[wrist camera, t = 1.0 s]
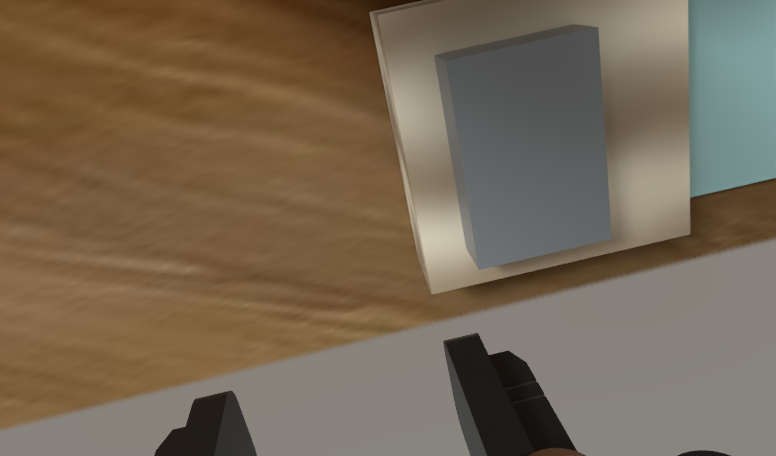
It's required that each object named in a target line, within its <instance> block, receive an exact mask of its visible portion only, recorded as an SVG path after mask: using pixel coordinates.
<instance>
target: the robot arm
mask: <svg viewBox="0 0 776 456" xmlns="http://www.w3.org/2000/svg"><path fill="white" fill-rule="evenodd" d="M444 350H445V355H446V360H447V365H448V370H449V375H450V381H451V385H452V390H453V396H454V401H455V406H456V410H457V414H458V418H459V422H460V425H461V429H462V432H463V435H464V438H465V441H466V443H467V447H468V450H469V452H470V455H471V456H585V455H584V454H581V453H579V452H577V450H576V449H575V447H574V445H573V443H572V442H571V440H570V438H569V436H568V435H567V433H566V431H565V429H564V428H563V426H562V424H561V422H560V421H559V419H558V417H557V415H556V414H555V412H554V410H553V408H552V407H551V405H550V403H549V401H548V400H547V398H546V397H545V396H544V393H543V391H542V389H541V387H540V386H539V384H538V383H537V382H536V379H535V377H534V375H533V373H532V372H531V370H530V368H529V366H528V365H527V363H526V362H525V361H523V360H522V359H520V358H519V357H517V356H516V355H514V354H513V353H511V352H510V351H505V352H501V353H497V354H492V355H488V353H487V351H486V349H485V347H484V345H483V343H482V341H481V339H480V336H479V335H478V333H475V334H471V335H466V336H462V337H458V338H454V339H450V340H445V341H444ZM154 456H257V455H256V451H255V447H254V445H253V442H252V439H251V436H250V433H249V431H248V428H247V426H246V422H245V420H244V417H243V414H242V412H241V409H240V406H239V403H238V401H237V398H236V396H235V394H234V393H233V392H232V391H228V392H224V393H219V394H215V395H211V396H206V397H202V398H198V399H195V400H194V402H193V404H192V407H191V411H190V414H189V418H188V421H187V425H186V427H183V428H179V429H174V430H172V431H171V433H170V434H169V435H168V436H167V438H166V439H165V440H164V441H163V443H162V444H161V445H160V446H159V448H158V449H157V450H156V452H155V455H154ZM678 456H730V455H727V454H724V453H719V452H714V451H690V452H686V453H683V454H680V455H678Z"/></svg>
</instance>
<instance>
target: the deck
mask: <svg viewBox="0 0 776 456" xmlns="http://www.w3.org/2000/svg"><path fill="white" fill-rule="evenodd" d="M369 14H370V19H371V24H372V29H373V34H374V39H375V44H376V49H377V54H378V59H379V64H380V69H381V74H382V79H383V84H384V89H385V94H386V99H387V104H388V109H389V114H390V119H391V124H392V129H393V134H394V139H395V144H396V149H397V154H398V159H399V164H400V169H401V174H402V179H403V184H404V189H405V194H406V199H407V204H408V209H409V214H410V219H411V224H412V229H413V234H414V239H415V244H416V249H417V254H418V259H419V262H420V265H421V268H422V270H423V273H424V275H425V278H426V281H427V283H428V286H429V288H430V291H431V293H432V295H433V294H437V293H441V292H445V291H450V290H454V289H458V288H463V287H467V286H471V285H475V284H480V283H484V282H488V281H493V280H497V279H501V278H505V277H510V276H514V275H518V274H523V273H527V272H531V271H535V270H540V269H544V268H548V267H553V266H557V265H561V264H565V263H570V262H574V261H578V260H583V259H587V258H591V257H595V256H600V255H604V254H608V253H613V252H617V251H621V250H625V249H630V248H634V247H638V246H643V245H647V244H651V243H655V242H660V241H664V240H668V239H673V238H677V237H681V236H685V235H690V147H689V42H688V0H422V1H417V2H413V3H408V4H404V5H399V6H394V7H390V8H385V9H381V10H376V11H372V12H369ZM571 24H577V25H585V26H593V27H598V30H599V46H600V62H601V77H602V93H603V109H604V125H605V140H606V156H607V172H608V187H609V203H610V219H611V235H612V239H610V240H605V241H601V242H597V243H593V244H588V245H584V246H580V247H575V248H571V249H567V250H562V251H558V252H554V253H550V254H545V255H541V256H537V257H532V258H528V259H524V260H519V261H515V262H511V263H507V264H502V265H498V266H494V267H489V268H485V269H481V270H479V269H478V268H477V266H476V264H475V263H474V261H473V259H472V258H471V256H470V254H469V252H468V251H467V249H466V245H465V239H464V233H463V227H462V221H461V215H460V209H459V203H458V196H457V190H456V184H455V178H454V172H453V166H452V160H451V154H450V148H449V142H448V136H447V130H446V124H445V118H444V112H443V106H442V100H441V94H440V88H439V81H438V75H437V69H436V63H435V57H434V55H436V54H440V53H445V52H449V51H454V50H458V49H463V48H467V47H472V46H476V45H481V44H485V43H490V42H494V41H499V40H504V39H508V38H513V37H517V36H522V35H526V34H531V33H535V32H540V31H544V30H549V29H553V28H558V27H562V26H567V25H571Z"/></svg>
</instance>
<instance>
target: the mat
mask: <svg viewBox="0 0 776 456" xmlns="http://www.w3.org/2000/svg"><path fill="white" fill-rule="evenodd" d="M688 42H689V147H690V198H691V197H695V196H700V195H704V194H708V193H713V192H717V191H721V190H726V189H730V188H734V187H739V186H743V185H747V184H752V183H756V182H760V181H764V180H769V179H773V178H776V0H688Z"/></svg>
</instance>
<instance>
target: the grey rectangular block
mask: <svg viewBox="0 0 776 456" xmlns="http://www.w3.org/2000/svg"><path fill="white" fill-rule="evenodd" d="M434 57H435V63H436V69H437V75H438V81H439V88H440V94H441V100H442V106H443V112H444V118H445V124H446V130H447V136H448V142H449V148H450V154H451V160H452V166H453V172H454V178H455V184H456V190H457V196H458V203H459V209H460V215H461V221H462V227H463V233H464V239H465V245H466V249H467V251H468V252H469V254H470V256H471V258H472V259H473V261H474V263H475V264H476V266H477V268H478V269H479V270H481V269H485V268H489V267H494V266H498V265H502V264H507V263H511V262H515V261H519V260H524V259H528V258H532V257H537V256H541V255H545V254H550V253H554V252H558V251H562V250H567V249H571V248H575V247H580V246H584V245H588V244H593V243H597V242H601V241H605V240H610V239H612V235H611V219H610V203H609V187H608V172H607V156H606V140H605V125H604V109H603V93H602V77H601V62H600V46H599V30H598V27H593V26H585V25H577V24H571V25H567V26H562V27H558V28H553V29H549V30H544V31H540V32H535V33H531V34H526V35H522V36H517V37H513V38H508V39H504V40H499V41H494V42H490V43H485V44H481V45H476V46H472V47H467V48H463V49H458V50H454V51H449V52H445V53H440V54H436V55H434Z"/></svg>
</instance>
